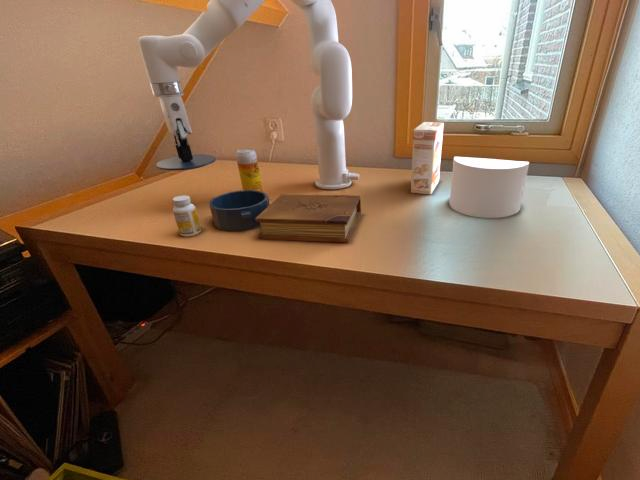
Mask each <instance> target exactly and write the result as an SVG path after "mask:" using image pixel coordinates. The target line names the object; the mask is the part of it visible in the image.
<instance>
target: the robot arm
mask: <svg viewBox="0 0 640 480" xmlns="http://www.w3.org/2000/svg"><path fill="white" fill-rule="evenodd" d="M266 1H267V0H209V1H208V3H207V5H206V6H207V10H208V11H207V12H203V11H202V12H201V14H200V15H199V16H198V17H197V18H196V19H195V21H194V22H193V23H191V25H190V26H189V27H187V29H186V30H185V31H184V32H183V33H182V34H181V33H180V34H176V35H170V36H165V35H143V36H140V37H139V38H138V47H139V50H140V53H141V57H142V60H143V61H142V62H143V64H144V67H145V71H146V74H147V78H148V82H149V85H150V89H151V91H152V95H153V98H158V101H159V104H160V107H161V111H162V115H163V119H164V121H165V125H166V128H167V131H168V132H169V133H170V134H171V135H172V137H173V140H174V146H175V150H176V152H177V156H179V158H180V159H181V160H182V161H187V160H192V159H193V156H192V155H193V152H192V149H191V145H190V143H189V139H188V135H187V134H189V135H192V134H193V130H192V127H191V123H190V120H189V116H188V113H187V109H186V106H185V103H184V101H183V98H182V96H184V95H185V94H184V90H183V86H182V82H181V78H180V73H179V70H178V67H179V68H180V67H181V68H188V69H189V68H190V69H194V68H197V67H200V66H201V65H202V64H203V62H204V61H205V59H207V57H208V56H209V55H210V54H211V53H212V52H214V50H215V49H216V48H217V47H218V46H219V45H220V44H222V42H223V41H224V40H226V39H227V38H228V37H230V36H231V35H233V34H235V32H236V31H238V30H239V29H240V28H241V26H243V25H244V23H245V22H246V21H248V19H249V18H250V17H252V15H254V13H255V12H256V11H257V10H258V9H259V8H260V7H261V6H262V5H263V4H264V3H265V2H266ZM290 1H291V2H292V3H293V4H294V5H296V6H297V7H298V8H299V9H300V10H301V11H302V13H303V15H304V16H305V19H306V24H307V31H308V43H309V53H310V54H309V59H310V67H311V70H312V72H313V73H314V75H315V76H317V77H319V85H317V86H316V87H315V88H314V89H313V91H312V92H311V96H310V109H311V114H312V119H313V124H314V125H313V126H314V133H315V134H314V135H315V144H316V156H317V166H318V178H317V179H316V180H315V181H314V183H315V187H317V188H319V189H322V190H340V189H344V188H348V187H350V186H351V185H352V180H353V181H360V174H359V173H357V172H349V169H348V168H347V160H346V159H347V158H346V142H345V139H346V138H345V137H346V135H345V125H344V120H345V119H346V118H347V117H348V116H349V115H350V113H351V110H352V106H353V105H352V104H353V73H352V72H353V70H352V61H351V56H350V54H349V51H348V50H347V48H346V47H345V46H344V45H343V44H342V43H340V42H339V31H338V20H337V19H338V18H337V14H336V9H335V6H334V5H333V2H332V0H290ZM177 144H178V145H177ZM178 146H179V147H178Z"/></svg>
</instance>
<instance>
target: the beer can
mask: <svg viewBox="0 0 640 480" xmlns="http://www.w3.org/2000/svg"><path fill="white" fill-rule="evenodd" d="M235 158H236V164H237V168H238V173H239V178H240V182H241V183H240V184H241V188H242V190H255V191H261V192H264V191H263V184H262V178H261V173H260V172H261V171H260V167H259V166H260V165H259V161H258V156H257V152H256V150H255V149H254V148H242V149H238V150H236V153H235Z"/></svg>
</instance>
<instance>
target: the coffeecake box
mask: <svg viewBox="0 0 640 480" xmlns="http://www.w3.org/2000/svg"><path fill="white" fill-rule="evenodd" d="M444 126H445V123H444V122H440V121H437V122H436V121H423V122H422V123H420V124H419V125H418V126H416V127H415V128H414V129H413V130H412V131H413V133H412V134H413V136H412V154H411V155H412V156H411V160H412V161H411V178H410V179H411V180H410V181H411V182H410V193H412V194H424V195H432V194H433V192H434V190H435V189H436V187H437V185H438V184H439V182H440V174H441V173H440V172H441V159H442V147H443V136H444Z"/></svg>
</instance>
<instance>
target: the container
mask: <svg viewBox="0 0 640 480" xmlns="http://www.w3.org/2000/svg"><path fill="white" fill-rule="evenodd" d="M529 167H530V161H522V160H509V159H496V158H484V157H483V158H482V157H471V156H470V157H469V156H455V155H454V157H453V163H452V171H451V173H452V174H451V183H450V190H449V191H450V193H449V203H448V204H449V206H450V208H451V209H453V210H454V211H456V212H458V213H459V214H463V215H466V216H469V217H476V218H484V219H498V218H507V217H511V216H514V215H516V214H517V213H519V211H520V210H521V206H522V202H523V198H524V197H523V196H524V191H525V186H526V181H527V176H528V172H529Z"/></svg>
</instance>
